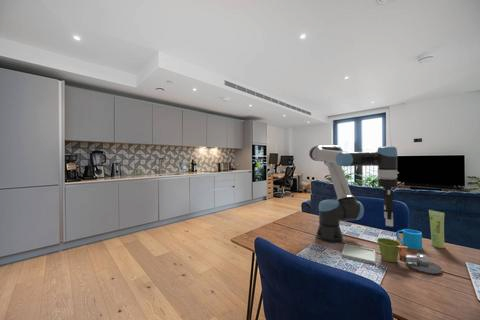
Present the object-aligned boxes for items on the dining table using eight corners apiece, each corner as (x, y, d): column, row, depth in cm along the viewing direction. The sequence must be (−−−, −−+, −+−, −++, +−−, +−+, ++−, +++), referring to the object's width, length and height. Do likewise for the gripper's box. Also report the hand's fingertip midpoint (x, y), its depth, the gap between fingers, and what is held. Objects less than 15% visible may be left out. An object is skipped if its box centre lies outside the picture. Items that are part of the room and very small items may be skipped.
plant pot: (395, 266, 87) (395, 247, 87) (373, 257, 96) (372, 240, 96) (405, 261, 92) (405, 243, 92) (383, 253, 100) (383, 236, 100)
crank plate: (407, 269, 85) (406, 265, 85) (403, 257, 95) (403, 254, 95) (445, 278, 78) (445, 274, 78) (437, 264, 88) (437, 261, 88)
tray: (341, 256, 97) (341, 253, 97) (345, 246, 109) (344, 243, 109) (375, 264, 89) (375, 261, 89) (375, 252, 101) (375, 249, 101)
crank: (423, 261, 89) (423, 245, 89) (432, 266, 84) (431, 249, 84) (395, 260, 90) (394, 244, 90) (401, 265, 86) (401, 248, 86)
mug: (425, 247, 105) (425, 232, 105) (417, 250, 102) (416, 235, 102) (400, 239, 116) (400, 226, 116) (392, 242, 113) (391, 228, 113)
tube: (430, 246, 107) (429, 211, 107) (429, 243, 110) (428, 209, 111) (445, 249, 103) (444, 212, 103) (443, 245, 107) (442, 210, 107)
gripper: (400, 181, 81) (401, 231, 81) (395, 176, 102) (395, 216, 102) (378, 180, 85) (379, 228, 86) (377, 176, 106) (378, 214, 106)
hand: (388, 221), depth 94 cm, fingers open, 13 cm apart
